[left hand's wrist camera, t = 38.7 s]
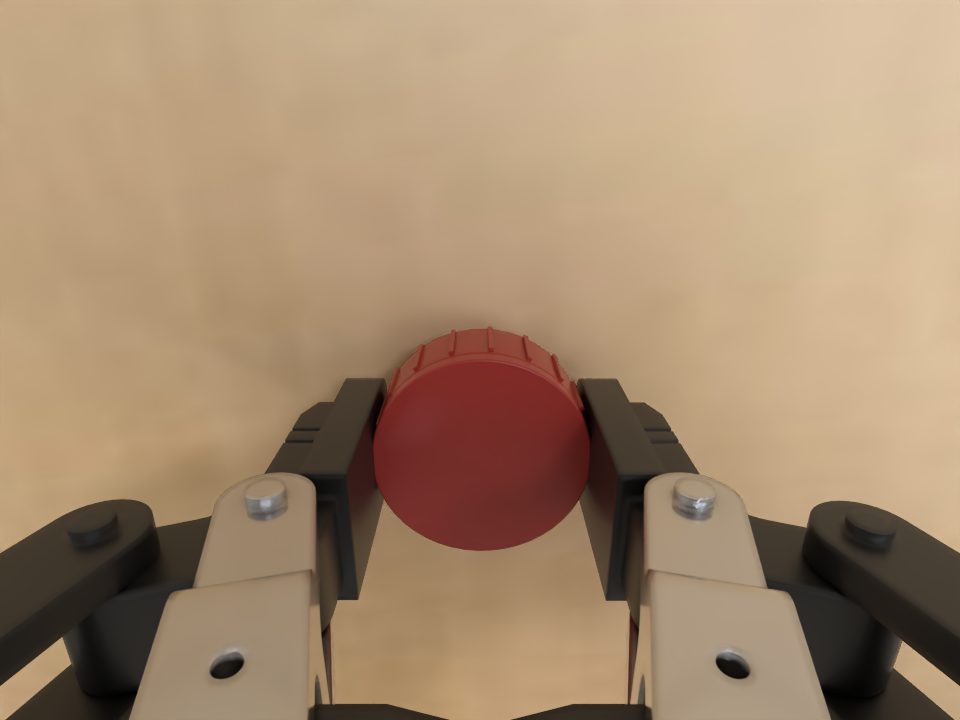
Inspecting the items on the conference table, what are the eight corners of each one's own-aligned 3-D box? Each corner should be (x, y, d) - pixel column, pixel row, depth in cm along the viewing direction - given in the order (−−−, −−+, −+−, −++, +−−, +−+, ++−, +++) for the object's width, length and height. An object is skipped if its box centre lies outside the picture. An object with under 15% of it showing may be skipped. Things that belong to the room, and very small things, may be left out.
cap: (460, 532, 13) (458, 586, 11) (341, 397, 12) (321, 438, 10) (616, 440, 12) (636, 485, 11) (506, 285, 11) (510, 310, 9)
